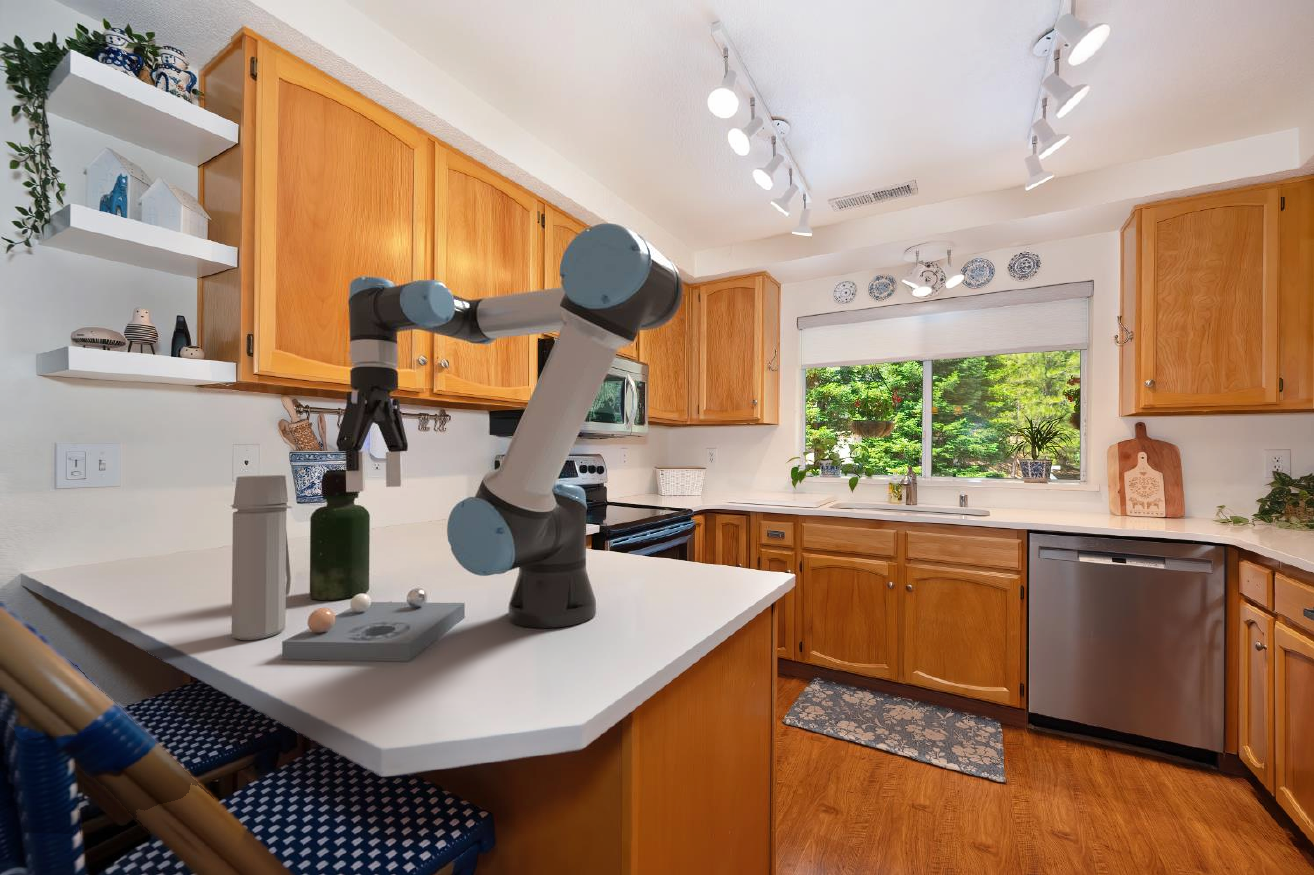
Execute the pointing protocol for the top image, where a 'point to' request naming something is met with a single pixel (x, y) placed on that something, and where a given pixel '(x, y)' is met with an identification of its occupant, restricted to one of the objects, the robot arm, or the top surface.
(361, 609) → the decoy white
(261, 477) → the water bottle
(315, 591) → the green bottle
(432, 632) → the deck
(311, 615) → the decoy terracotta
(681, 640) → the top surface
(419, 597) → the steel ball
